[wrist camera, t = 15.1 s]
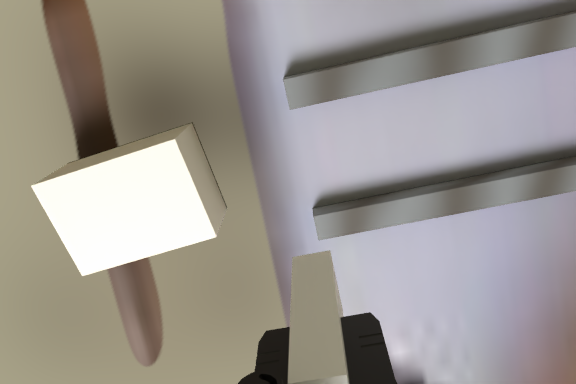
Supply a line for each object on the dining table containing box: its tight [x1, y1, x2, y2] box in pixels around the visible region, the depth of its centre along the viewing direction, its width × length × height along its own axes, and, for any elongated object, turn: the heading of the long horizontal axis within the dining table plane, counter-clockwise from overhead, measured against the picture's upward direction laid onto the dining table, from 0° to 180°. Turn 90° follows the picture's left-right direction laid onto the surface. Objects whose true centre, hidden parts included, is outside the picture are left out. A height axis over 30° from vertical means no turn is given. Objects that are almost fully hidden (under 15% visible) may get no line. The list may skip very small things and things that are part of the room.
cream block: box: [31, 122, 227, 276], centre depth 31 cm, size 10×7×5 cm
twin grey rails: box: [283, 11, 576, 240], centre depth 30 cm, size 22×12×2 cm, turn 103°
